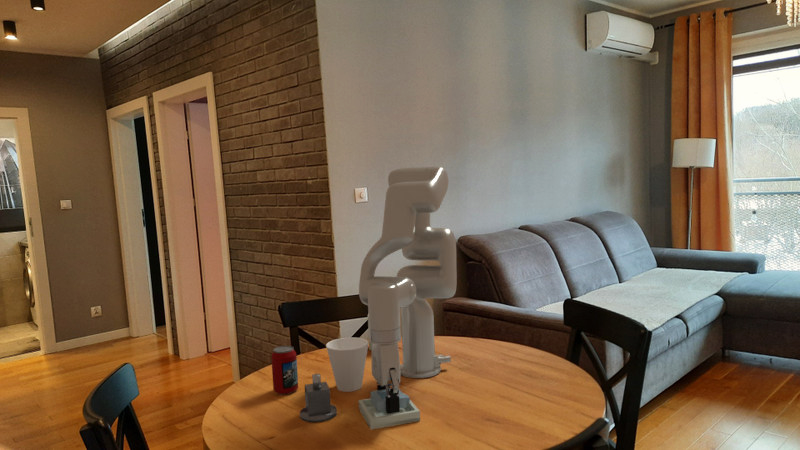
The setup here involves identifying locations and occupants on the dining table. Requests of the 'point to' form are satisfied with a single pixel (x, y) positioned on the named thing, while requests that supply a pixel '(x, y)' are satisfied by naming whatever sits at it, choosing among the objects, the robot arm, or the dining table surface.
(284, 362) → the beverage can
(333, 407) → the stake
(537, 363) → the dining table surface
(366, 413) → the tray
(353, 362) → the cup
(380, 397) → the blue-grey rectangular frame
